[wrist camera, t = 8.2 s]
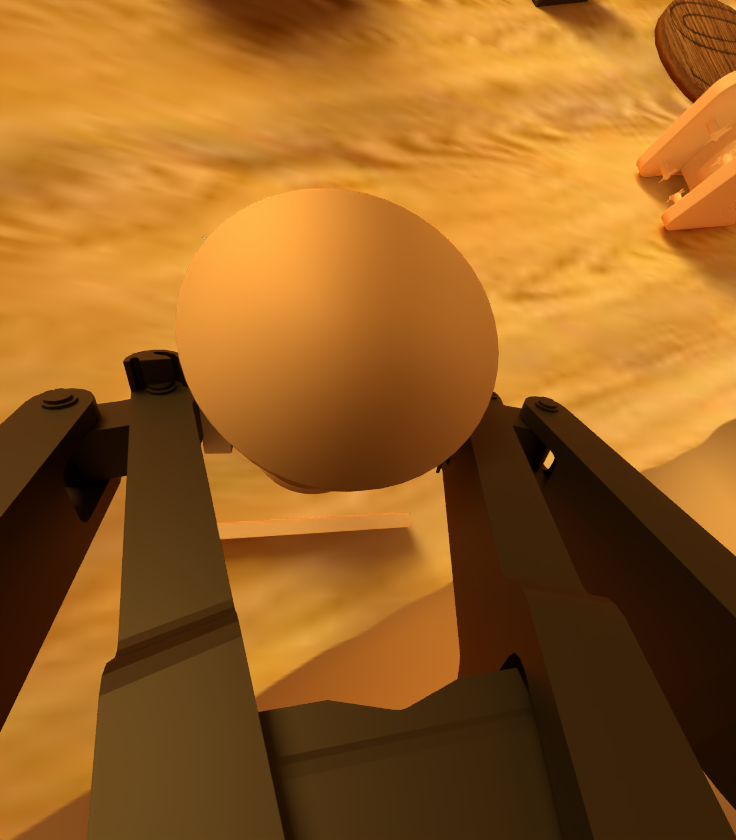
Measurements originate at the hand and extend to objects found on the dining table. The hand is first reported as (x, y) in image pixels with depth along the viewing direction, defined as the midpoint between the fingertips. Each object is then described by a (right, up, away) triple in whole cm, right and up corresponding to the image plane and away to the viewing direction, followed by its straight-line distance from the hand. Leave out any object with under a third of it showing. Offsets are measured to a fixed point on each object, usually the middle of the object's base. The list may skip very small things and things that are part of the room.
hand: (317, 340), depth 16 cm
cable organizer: (+45, +26, +31) cm, 60 cm away
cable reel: (-1, -4, +3) cm, 5 cm away
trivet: (+59, +53, +41) cm, 89 cm away
